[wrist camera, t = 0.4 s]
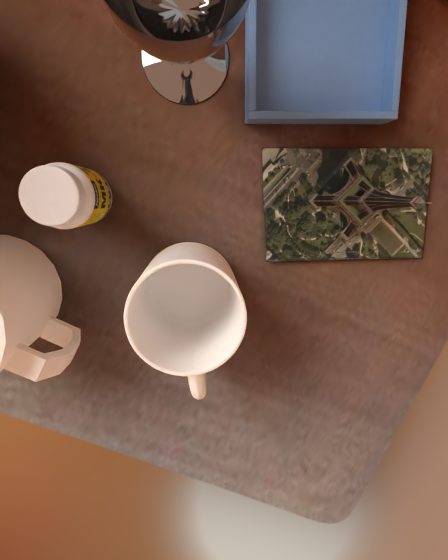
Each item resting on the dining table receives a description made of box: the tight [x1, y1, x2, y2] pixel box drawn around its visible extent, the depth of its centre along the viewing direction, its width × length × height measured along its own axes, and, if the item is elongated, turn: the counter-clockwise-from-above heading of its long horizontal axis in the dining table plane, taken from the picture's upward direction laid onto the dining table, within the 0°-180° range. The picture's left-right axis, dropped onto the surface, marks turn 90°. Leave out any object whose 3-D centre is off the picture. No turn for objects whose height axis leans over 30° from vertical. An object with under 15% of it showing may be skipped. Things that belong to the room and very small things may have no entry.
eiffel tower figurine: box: [262, 147, 433, 262], centre depth 29 cm, size 15×10×13 cm
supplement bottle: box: [19, 162, 112, 229], centre depth 30 cm, size 5×5×8 cm
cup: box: [124, 242, 247, 399], centre depth 32 cm, size 8×12×10 cm
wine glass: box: [102, 0, 250, 105], centre depth 25 cm, size 8×8×15 cm
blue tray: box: [245, 0, 408, 124], centre depth 31 cm, size 12×12×2 cm
